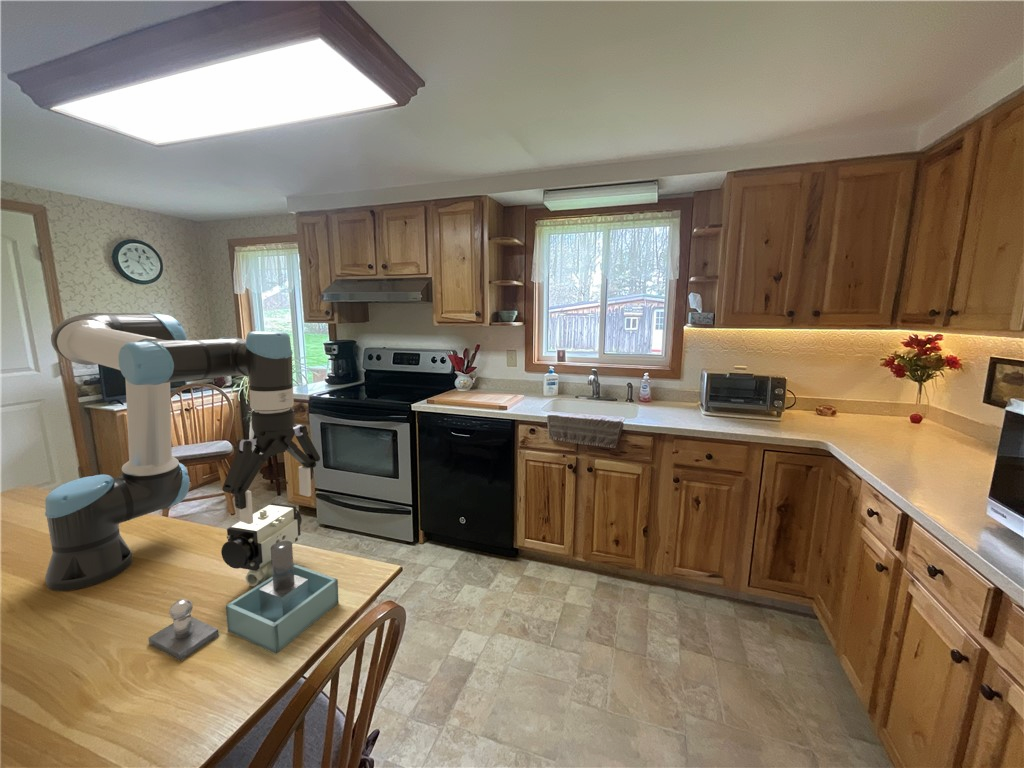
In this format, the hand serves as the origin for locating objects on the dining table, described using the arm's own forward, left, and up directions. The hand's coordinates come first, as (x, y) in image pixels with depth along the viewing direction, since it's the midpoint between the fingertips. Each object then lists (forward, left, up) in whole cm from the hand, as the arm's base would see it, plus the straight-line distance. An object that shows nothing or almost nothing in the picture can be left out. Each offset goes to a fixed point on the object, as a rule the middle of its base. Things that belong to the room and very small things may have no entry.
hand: (278, 507), depth 86 cm
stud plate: (-12, -13, -25) cm, 31 cm away
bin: (0, 0, -25) cm, 25 cm away
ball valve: (-15, +8, -26) cm, 31 cm away
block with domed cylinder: (0, 0, -25) cm, 25 cm away
